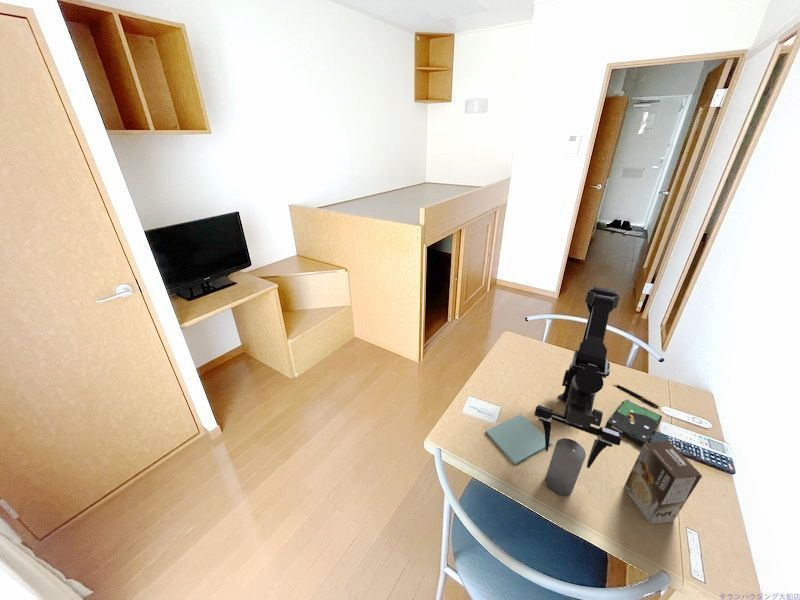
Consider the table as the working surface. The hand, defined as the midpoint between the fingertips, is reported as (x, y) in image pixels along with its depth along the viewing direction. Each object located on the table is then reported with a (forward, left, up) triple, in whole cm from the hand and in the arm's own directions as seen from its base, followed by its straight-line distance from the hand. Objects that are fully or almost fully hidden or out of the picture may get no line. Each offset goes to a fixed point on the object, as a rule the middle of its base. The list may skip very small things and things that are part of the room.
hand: (566, 459), depth 80 cm
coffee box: (-14, +13, -9) cm, 22 cm away
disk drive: (-35, -2, -9) cm, 36 cm away
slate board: (0, -15, -8) cm, 17 cm away
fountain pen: (-48, -9, -9) cm, 49 cm away
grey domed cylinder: (+1, 0, -8) cm, 9 cm away
